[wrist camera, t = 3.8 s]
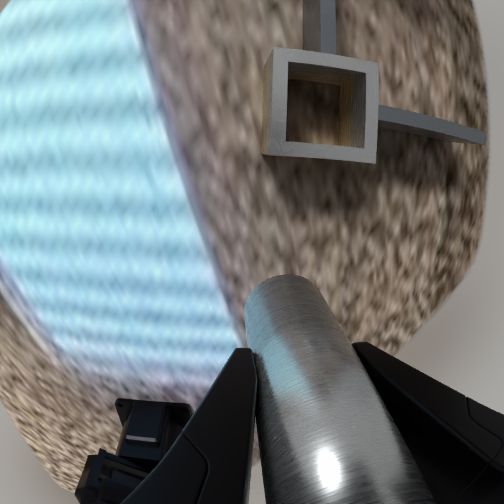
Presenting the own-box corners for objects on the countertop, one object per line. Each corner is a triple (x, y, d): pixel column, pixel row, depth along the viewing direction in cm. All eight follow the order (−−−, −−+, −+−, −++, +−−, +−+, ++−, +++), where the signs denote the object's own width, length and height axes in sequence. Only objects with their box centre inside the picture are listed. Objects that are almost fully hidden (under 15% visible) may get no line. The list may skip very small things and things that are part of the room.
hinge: (446, 172, 19) (481, 180, 16) (261, 153, 18) (270, 155, 14) (438, -11, 14) (467, -27, 11) (267, -55, 13) (275, -87, 10)
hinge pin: (318, 342, 11) (405, 556, 3) (243, 345, 11) (269, 587, 3) (328, 274, 10) (476, 498, 2) (245, 274, 10) (287, 557, 2)
